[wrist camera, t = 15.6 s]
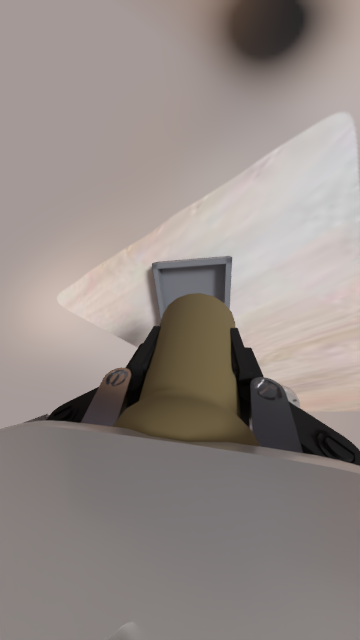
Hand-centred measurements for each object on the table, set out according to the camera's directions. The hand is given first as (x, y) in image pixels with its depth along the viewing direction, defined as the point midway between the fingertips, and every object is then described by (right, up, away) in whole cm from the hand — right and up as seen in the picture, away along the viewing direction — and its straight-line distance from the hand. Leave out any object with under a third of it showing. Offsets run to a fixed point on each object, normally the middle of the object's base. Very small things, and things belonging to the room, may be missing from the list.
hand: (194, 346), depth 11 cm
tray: (+2, +4, +19) cm, 19 cm away
